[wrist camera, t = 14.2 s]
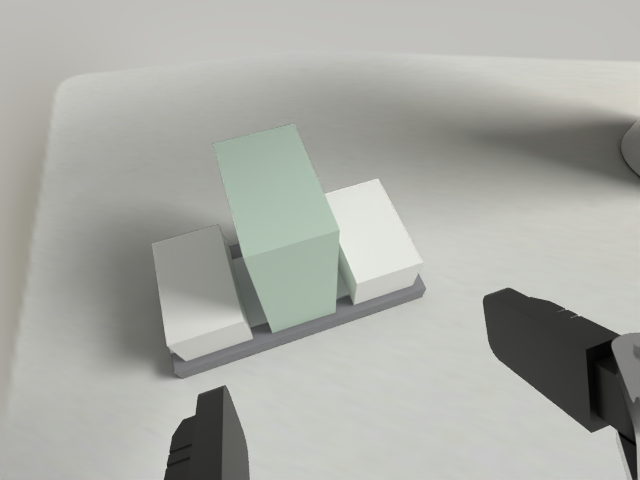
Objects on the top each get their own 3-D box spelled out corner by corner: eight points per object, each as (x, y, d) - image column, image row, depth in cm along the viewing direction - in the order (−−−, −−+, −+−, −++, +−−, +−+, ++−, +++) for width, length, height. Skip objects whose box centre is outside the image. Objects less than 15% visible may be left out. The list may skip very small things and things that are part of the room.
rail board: (378, 212, 38) (387, 170, 32) (421, 297, 33) (439, 263, 28) (165, 277, 35) (136, 241, 29) (182, 378, 30) (151, 358, 25)
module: (303, 227, 35) (293, 121, 24) (335, 312, 31) (339, 229, 20) (247, 243, 34) (212, 141, 23) (272, 333, 30) (243, 258, 20)
